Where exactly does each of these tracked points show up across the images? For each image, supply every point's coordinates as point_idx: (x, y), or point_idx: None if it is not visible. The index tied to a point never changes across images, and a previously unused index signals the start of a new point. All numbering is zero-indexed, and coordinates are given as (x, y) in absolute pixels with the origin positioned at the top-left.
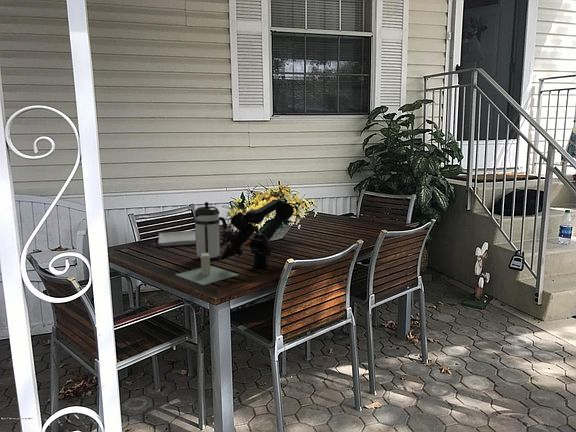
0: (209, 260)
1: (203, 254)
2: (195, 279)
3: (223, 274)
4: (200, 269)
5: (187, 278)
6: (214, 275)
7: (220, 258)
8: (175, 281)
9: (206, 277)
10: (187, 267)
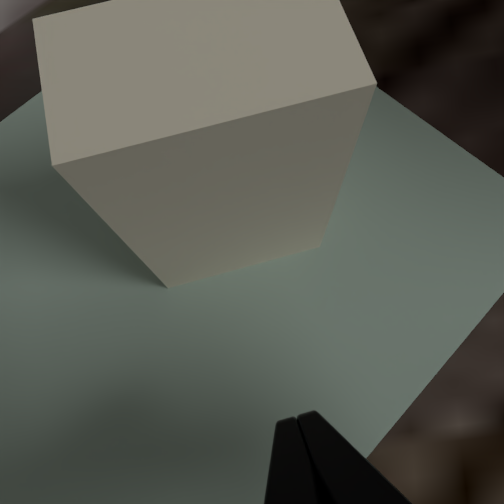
0: (98, 206)
1: (203, 16)
2: (20, 158)
3: (163, 461)
4: (385, 145)
5: None
6: (134, 341)
7: (276, 422)
8: (40, 14)
9: (69, 257)
10: (482, 17)
